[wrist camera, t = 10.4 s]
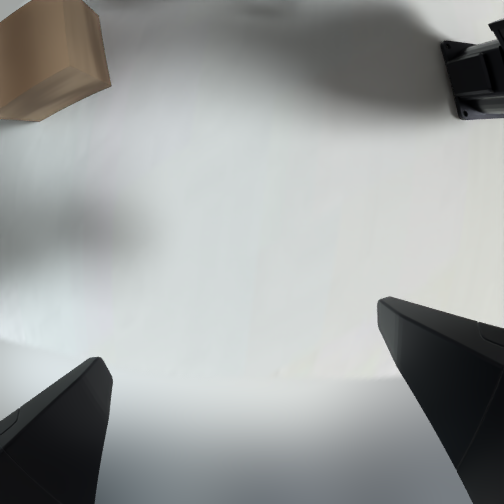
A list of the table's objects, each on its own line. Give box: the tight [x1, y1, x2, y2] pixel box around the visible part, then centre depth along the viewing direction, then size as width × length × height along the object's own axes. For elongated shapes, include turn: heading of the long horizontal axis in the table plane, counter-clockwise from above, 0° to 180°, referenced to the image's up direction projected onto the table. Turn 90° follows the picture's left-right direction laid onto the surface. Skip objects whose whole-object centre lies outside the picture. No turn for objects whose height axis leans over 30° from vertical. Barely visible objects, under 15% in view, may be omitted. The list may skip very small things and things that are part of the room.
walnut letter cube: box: [0, 0, 111, 122], centre depth 13 cm, size 6×6×6 cm
